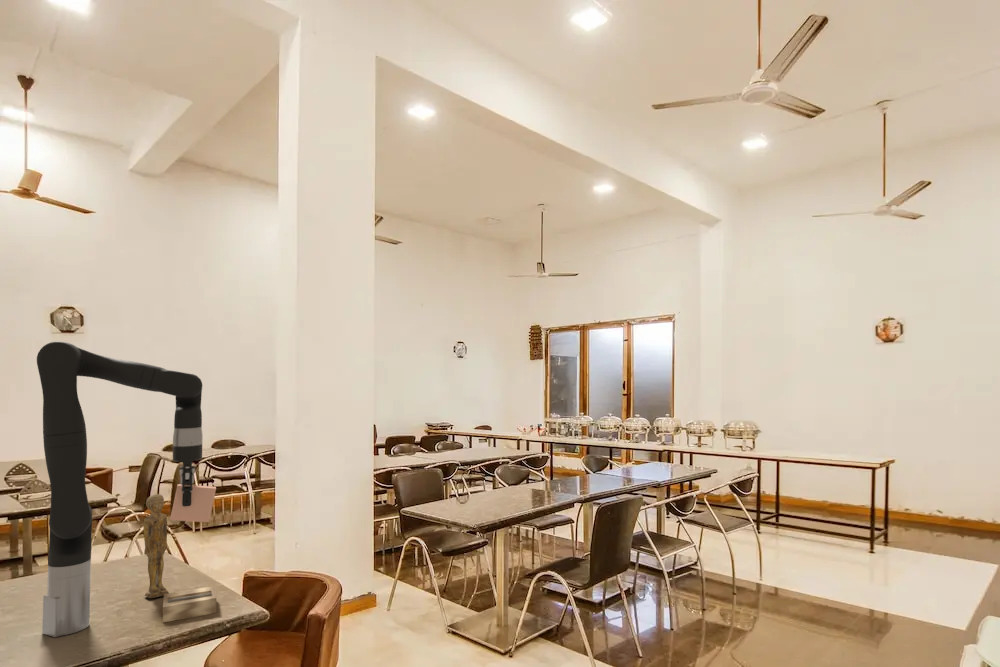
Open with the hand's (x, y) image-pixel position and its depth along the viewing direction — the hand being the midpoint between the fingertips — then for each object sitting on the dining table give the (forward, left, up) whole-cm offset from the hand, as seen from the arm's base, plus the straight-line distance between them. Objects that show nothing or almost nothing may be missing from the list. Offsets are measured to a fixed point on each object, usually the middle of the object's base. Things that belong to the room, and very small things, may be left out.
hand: (186, 504), depth 172 cm
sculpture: (+3, +18, -29) cm, 35 cm away
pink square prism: (+1, -1, -5) cm, 5 cm away
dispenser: (0, -2, -29) cm, 29 cm away
